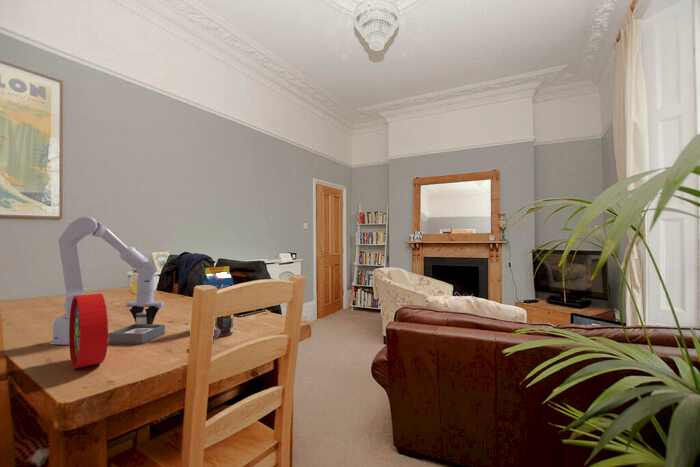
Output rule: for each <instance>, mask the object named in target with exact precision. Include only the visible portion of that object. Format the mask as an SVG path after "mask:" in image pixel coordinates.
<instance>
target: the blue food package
mask: <svg viewBox="0 0 700 467" xmlns="http://www.w3.org/2000/svg"><path fill="white" fill-rule="evenodd" d="M204 269H205V271H204V272H205V274H204V276H203V277H202V279H201V281H200V285H213V286H216V287H217V288H218V289H222V288H225V287H228V286H232V285H234V284H235V283H234V278H233V276H232V275H231V272H230V266H229V265H227V266H218V267H217V266H213V267H205V268H204ZM216 319H217V318H215V327H216Z"/></svg>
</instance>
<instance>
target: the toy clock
mask: <svg viewBox="0 0 700 467" xmlns="http://www.w3.org/2000/svg"><path fill="white" fill-rule="evenodd" d="M105 298H106V297H105V296H104V294H103V293H101V292H100V293H91V294H84V295H78V296H74V297H73V299H72V303H71V310H70V321H69V345H68V346H69V347H68V348H69V357H70V363H71V366H72V369H73V370H76V369H81V368H85V367H90V366H95V365H98V364H102V363H103V362H104V361H105V358H106V356H107V351H108V344H109V315H108V307H107V302H106V299H105Z"/></svg>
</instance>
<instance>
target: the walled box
mask: <svg viewBox="0 0 700 467" xmlns="http://www.w3.org/2000/svg"><path fill="white" fill-rule="evenodd" d="M165 328H166V325H165V324H155V323H154V324H136V323H134V324H131V325H128V326H125V327H123V328H119V329H117V330H114V331H111V332H108V344H121V345H122V344H125V345H126V344H127V345H143V344H146V343H148V342H150V341H152V340H154V338H155V339H156V337H157V338H159V337H160V336H161V337H162V336H163V335H165V333H166V331H165V330H166V329H165ZM158 336H159V337H158Z"/></svg>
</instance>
